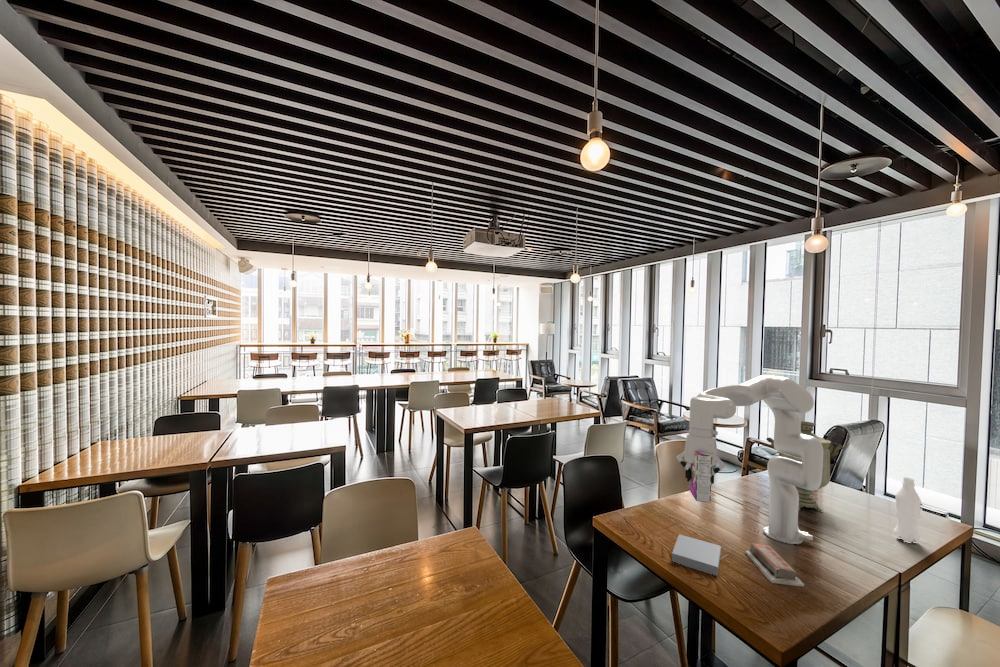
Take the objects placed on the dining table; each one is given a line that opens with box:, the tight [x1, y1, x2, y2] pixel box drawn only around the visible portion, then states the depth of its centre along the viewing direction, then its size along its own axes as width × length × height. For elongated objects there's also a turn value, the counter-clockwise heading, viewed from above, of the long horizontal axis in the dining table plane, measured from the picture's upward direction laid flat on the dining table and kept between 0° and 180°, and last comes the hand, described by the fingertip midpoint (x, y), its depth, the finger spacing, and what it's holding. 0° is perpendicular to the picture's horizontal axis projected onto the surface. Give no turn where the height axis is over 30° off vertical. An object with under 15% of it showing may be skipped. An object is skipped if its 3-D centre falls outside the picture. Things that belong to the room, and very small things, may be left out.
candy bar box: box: [688, 451, 712, 504], centre depth 139 cm, size 11×5×16 cm, turn 166°
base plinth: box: [671, 533, 722, 577], centre depth 139 cm, size 14×16×3 cm
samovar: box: [765, 420, 845, 512], centre depth 185 cm, size 30×26×40 cm
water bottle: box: [893, 476, 922, 543], centre depth 157 cm, size 7×7×25 cm
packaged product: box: [744, 543, 805, 587], centre depth 134 cm, size 18×5×10 cm
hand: (699, 482), depth 139 cm, fingers closed on candy bar box, 6 cm apart
